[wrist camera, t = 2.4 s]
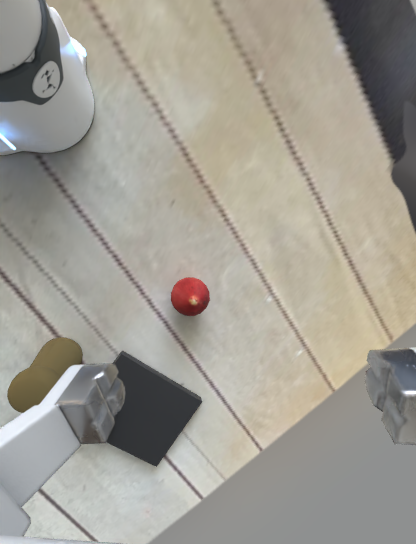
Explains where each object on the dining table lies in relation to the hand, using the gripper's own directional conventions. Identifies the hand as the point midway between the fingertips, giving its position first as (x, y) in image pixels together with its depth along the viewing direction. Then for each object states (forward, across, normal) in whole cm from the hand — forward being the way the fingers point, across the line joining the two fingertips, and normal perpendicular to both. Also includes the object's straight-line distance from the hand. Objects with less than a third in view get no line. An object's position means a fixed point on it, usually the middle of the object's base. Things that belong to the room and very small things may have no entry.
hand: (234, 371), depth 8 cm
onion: (+30, +10, +13) cm, 35 cm away
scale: (+22, +20, +29) cm, 41 cm away
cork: (+22, +29, +18) cm, 40 cm away
